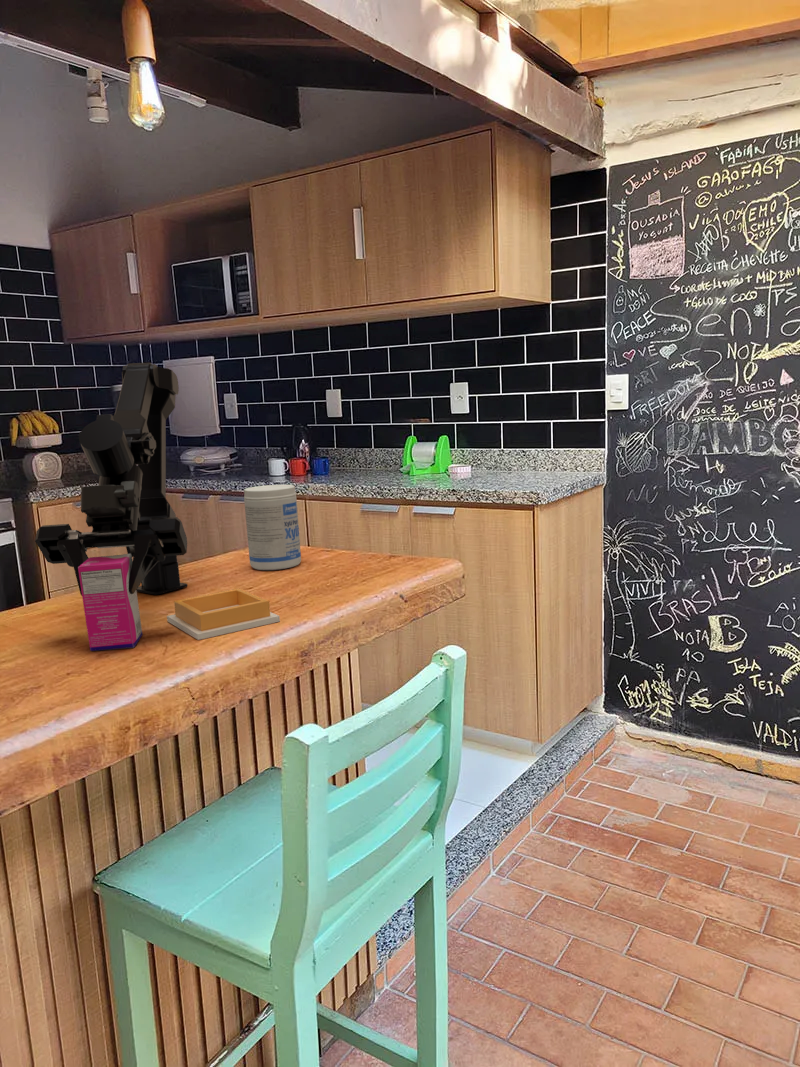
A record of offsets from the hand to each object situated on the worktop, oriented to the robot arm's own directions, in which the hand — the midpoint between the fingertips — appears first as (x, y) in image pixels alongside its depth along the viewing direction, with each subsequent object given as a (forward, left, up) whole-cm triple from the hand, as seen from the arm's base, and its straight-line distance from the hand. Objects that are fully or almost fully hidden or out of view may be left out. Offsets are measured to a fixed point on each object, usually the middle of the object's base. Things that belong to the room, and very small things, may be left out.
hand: (107, 594), depth 105 cm
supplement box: (-1, +1, -7) cm, 7 cm away
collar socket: (+4, +15, -7) cm, 17 cm away
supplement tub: (-16, +45, -7) cm, 48 cm away
